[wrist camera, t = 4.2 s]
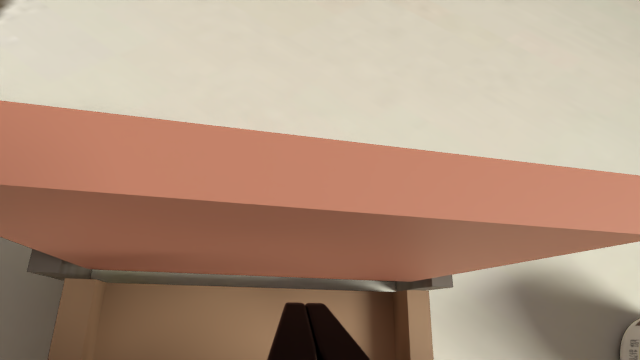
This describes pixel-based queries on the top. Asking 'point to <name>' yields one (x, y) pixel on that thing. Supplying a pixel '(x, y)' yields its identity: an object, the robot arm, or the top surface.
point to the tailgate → (287, 201)
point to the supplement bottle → (631, 342)
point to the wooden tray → (222, 318)
